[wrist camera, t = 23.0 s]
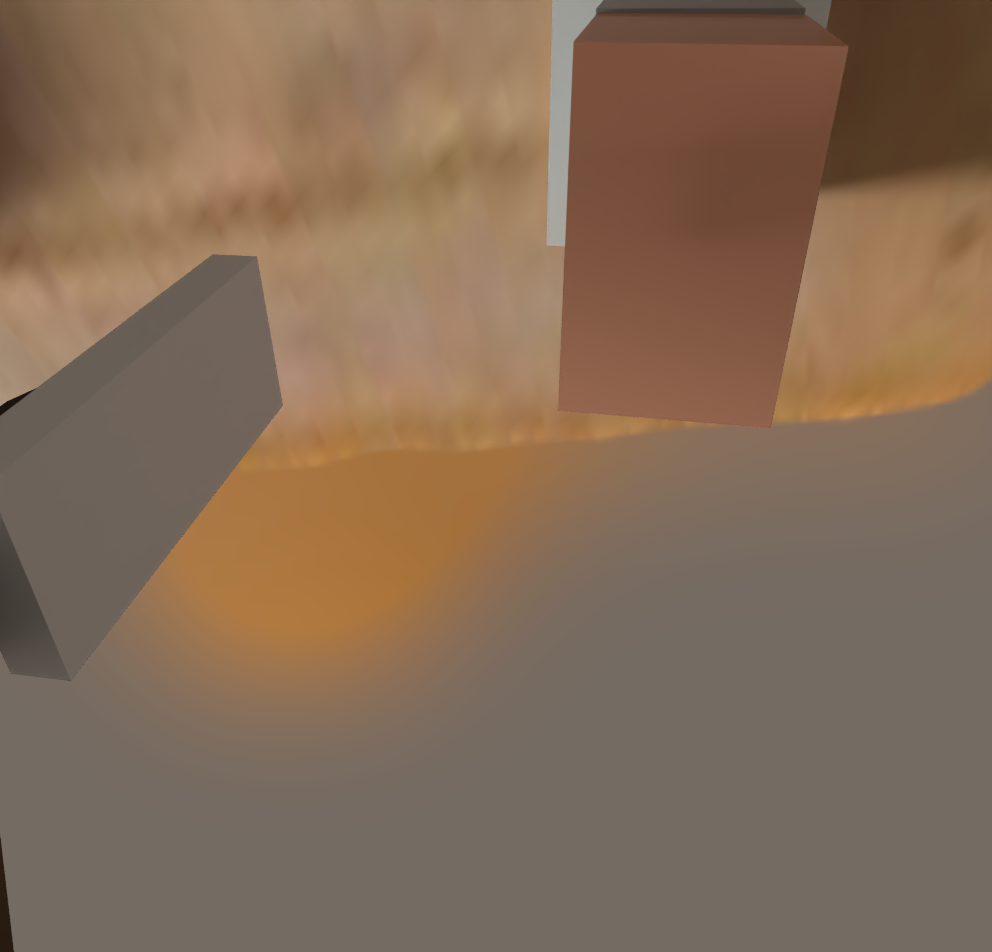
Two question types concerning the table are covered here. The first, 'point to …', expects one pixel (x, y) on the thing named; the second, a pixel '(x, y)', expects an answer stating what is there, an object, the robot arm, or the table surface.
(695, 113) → the terracotta brick
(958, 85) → the table surface
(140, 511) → the robot arm
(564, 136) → the baseplate
